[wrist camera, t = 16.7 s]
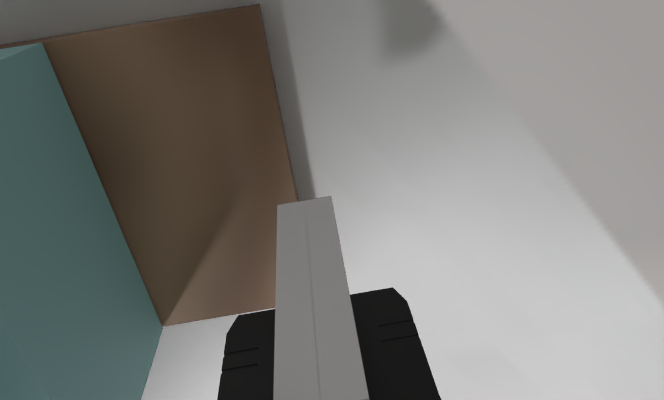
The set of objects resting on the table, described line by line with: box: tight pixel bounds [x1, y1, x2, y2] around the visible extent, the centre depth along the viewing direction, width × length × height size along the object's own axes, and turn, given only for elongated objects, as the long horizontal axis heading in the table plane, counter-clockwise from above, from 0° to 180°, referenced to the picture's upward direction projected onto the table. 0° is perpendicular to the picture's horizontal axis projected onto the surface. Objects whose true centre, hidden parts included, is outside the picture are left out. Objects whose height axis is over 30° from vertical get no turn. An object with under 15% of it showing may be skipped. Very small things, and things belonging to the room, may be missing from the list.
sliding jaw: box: [0, 43, 163, 400], centre depth 14 cm, size 2×12×7 cm, turn 8°
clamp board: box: [0, 4, 298, 327], centre depth 15 cm, size 18×12×8 cm, turn 98°
